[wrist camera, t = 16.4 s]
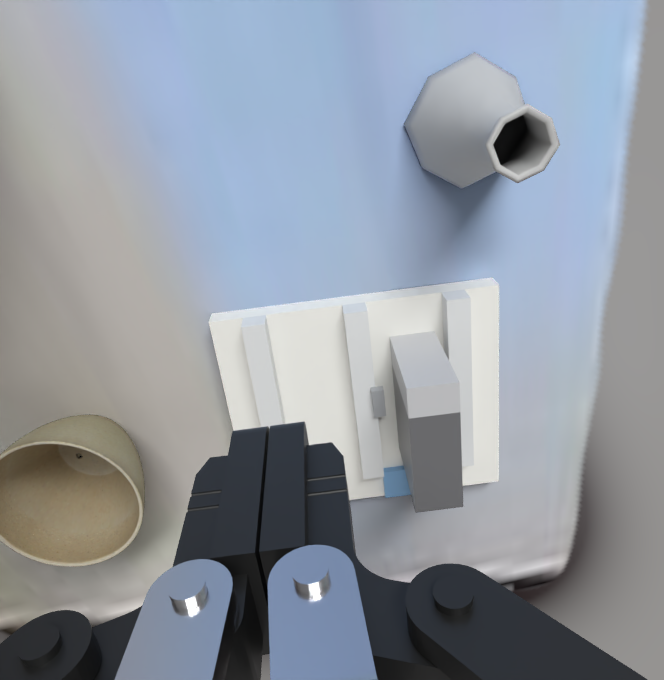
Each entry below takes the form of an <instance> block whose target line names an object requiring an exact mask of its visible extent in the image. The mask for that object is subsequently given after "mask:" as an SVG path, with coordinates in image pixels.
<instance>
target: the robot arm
mask: <svg viewBox="0 0 664 680" xmlns="http://www.w3.org/2000/svg"><path fill="white" fill-rule="evenodd" d="M191 494H192V497H190V501H189V505H188V512H187V513H186V517H185V521H184V525H183V529H182V532H181V536H180V540H179V544H178V548H177V552H176V556H175V560H174V564H173V567H172V568H170V569H169V570H168V571H166V572H165V573H163V574H162V575H161V576H160V577H159V578H158V579H157V580H156V581H155V582H154V583H153V585H152V586H151V587H150V589H149V591H148V593H147V595H146V597H145V600H144V603H143V605H142V606H141V607H139V608H138V609H136V610H134V611H132V612H130V613H128V614H125V615H123V616H120V617H118V618H115V619H113V620H110V621H108V622H105V623H103V624H100V625H98V626H95V627H93V628H92V627H91V625H90V623H89V621H88V619H87V618H86V617H85V616H84V615H82V614H81V613H79V612H76V611H70V610H61V611H55V612H50V613H47V614H45V615H42V616H40V617H37V618H35V619H33V620H32V621H30V622H28V623H27V624H25V625H24V626H22V627H21V628H20V629H18V630H17V631H16V632H14V633H13V634H12V635H11V636H9V637H8V638H7V639H6V640H4V641H3V642H2V643H1V644H0V680H260V678H261V662H262V655H265V654H270V677H271V678H270V679H271V680H647V679H646V678H644V677H643V676H641V675H640V674H638V673H636V672H635V671H633V670H632V669H630V668H629V667H627V666H625V665H624V664H623V663H621V662H619V661H618V660H616V659H615V658H613V657H612V656H610V655H609V654H607V653H605V652H604V651H602V650H601V649H599V648H598V647H596V646H595V645H593V644H592V643H590V642H588V641H587V640H585V639H584V638H582V637H581V636H579V635H578V634H576V633H574V632H573V631H571V630H570V629H568V628H567V627H565V626H564V625H562V624H561V623H559V622H558V621H556V620H554V619H553V618H551V617H550V616H548V615H547V614H545V613H544V612H542V611H540V610H539V609H537V608H536V607H534V606H533V605H531V604H530V603H528V602H527V601H525V600H524V599H522V598H520V597H519V596H517V595H516V594H514V593H513V592H511V591H510V590H508V589H506V588H505V587H503V586H502V585H500V584H499V583H497V582H496V581H494V580H493V579H491V578H489V577H488V576H486V575H485V574H483V573H482V572H480V571H478V570H476V569H474V568H471V567H469V566H465V565H460V564H441V565H436V566H433V567H430V568H428V569H426V570H424V571H422V572H421V573H419V574H418V575H417V576H416V577H415V578H414V579H413V580H412V582H411V583H406V582H400V581H394V580H389V579H385V578H382V577H379V576H377V575H375V574H373V573H371V572H370V571H369V570H367V569H366V568H365V567H364V566H363V565H362V564H361V563H360V562H359V560H358V559H357V557H356V552H355V543H354V534H353V525H352V516H351V508H350V501H349V494H348V486H347V479H346V471H345V464H344V457H343V455H342V454H341V453H340V451H339V450H338V449H337V448H336V447H335V445H334V444H333V443H332V442H329V443H321V444H313V445H309V442H308V435H307V429H306V425H305V422H296V423H288V424H281V425H273V426H270V429H269V427H268V426H266V427H258V428H250V429H242V430H235V431H233V433H232V437H231V442H230V448H229V453H228V456H220V457H212V458H210V459H209V460H208V461H207V462H206V463H205V465H204V466H203V467H202V468H201V470H200V471H199V472H198V473H197V474H196V477H195V481H194V485H193V489H192V493H191Z"/></svg>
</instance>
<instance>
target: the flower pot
mask: <svg viewBox="0 0 664 680" xmlns="http://www.w3.org/2000/svg"><path fill="white" fill-rule="evenodd" d="M79 456H82V457H81V458H79ZM144 501H145V486H144V475H143V470H142V465H141V462H140V458H139V455H138V453H137V450H136V448H135V446H134V444H133V442H132V440H131V439H130V437H129V436H128V434H127V433H126V432H125V431H124V430H123V429H122V427H120V426H119V425H118V424H117V423H115V422H114V421H112V420H110V419H108V418H105V417H102V416H98V415H78V416H72V417H67V418H63V419H60V420H56V421H53V422H51V423H48V424H46V425H43V426H41V427H39V428H37V429H35V430H33V431H32V432H30V433H28V434H27V435H25V436H24V437H22V438H20V439H19V440H18V441H16V442H15V443H13V444H12V445H11V446H10V447H8V448H7V449H6V450H5V451H3V452H2V453H1V454H0V541H1V542H2V543H4V544H5V545H6V546H8V547H9V548H10V549H12V550H13V551H15V552H17V553H19V554H21V555H23V556H25V557H27V558H29V559H32V560H35V561H38V562H41V563H45V564H49V565H55V566H64V567H65V566H66V567H77V566H86V565H92V564H96V563H100V562H103V561H105V560H108V559H110V558H112V557H114V556H116V555H117V554H119V553H120V552H122V551H123V550H124V549H125V548H127V547H128V546H129V544H130V543H131V542H132V541H133V540H134V538H135V537H136V535H137V534H138V531H139V529H140V526H141V523H142V518H143V512H144Z"/></svg>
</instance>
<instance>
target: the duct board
mask: <svg viewBox="0 0 664 680" xmlns="http://www.w3.org/2000/svg"><path fill="white" fill-rule="evenodd" d="M209 325H210V330H211V334H212V339H213V343H214V347H215V352H216V356H217V361H218V365H219V369H220V374H221V378H222V383H223V387H224V391H225V396H226V400H227V405H228V409H229V413H230V418H231V422H232V427H233V431H235V430H242V429H250V428H258V427H266V426H268V427H269V429H270V426H273V425H281V424H288V423H296V422H305V425H306V429H307V435H308V442H309V445H313V444H321V443H329V442H332V443H333V444H334V445H335V447H336V448H337V449H338V450H339V451H340V453H341V454H342V455H343V457H344V464H345V471H346V479H347V486H348V494H349V500H354V499H362V498H370V497H378V496H385V498H389V497H397V496H405V495H411V493H410V489H409V485H408V481H407V477H406V473H405V469H404V465H403V461H402V457H401V453H400V449H399V442H398V430H397V419H396V407H395V395H394V383H393V371H392V359H391V347H390V336H398V335H406V334H414V333H422V332H430V331H434V332H435V334H436V336H437V338H438V340H439V342H440V344H441V346H442V348H443V350H444V352H445V354H446V356H447V358H448V360H449V362H450V364H451V366H452V368H453V370H454V372H455V374H456V376H457V378H458V380H459V382H460V416H461V450H462V483H463V486H465V485H473V484H481V483H489V482H497V481H499V284H498V283H497V282H496V281H495V280H494V279H493V278H492V277H491V278H484V279H476V280H468V281H460V282H453V283H445V284H437V285H429V286H421V287H414V288H406V289H398V290H390V291H383V292H375V293H367V294H359V295H352V296H344V297H336V298H328V299H321V300H313V301H305V302H297V303H290V304H282V305H274V306H266V307H258V308H251V309H243V310H235V311H227V312H220V313H212V315H211V317H210V320H209Z"/></svg>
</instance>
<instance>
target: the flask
mask: <svg viewBox="0 0 664 680" xmlns="http://www.w3.org/2000/svg"><path fill="white" fill-rule="evenodd" d="M404 125H405V128H406V130H407V133H408V135H409V137H410V140H411V142H412V145H413V147H414V149H415V152H416V154H417V157H418V159H419V161H420V164H421V166H422V168H423V169H425V170H427V171H429V172H431V173H432V174H434V175H436V176H438V177H440V178H442V179H444V180H446V181H447V182H449V183H451V184H453V185H455V186H457V187H459V188H461V189H463V188H465V187H467V186H469V185H471V184H473V183H475V182H477V181H479V180H481V179H483V178H485V177H487V176H489V175H491V174H493V173H495V172H498V173H500V174H502V175H503V176H505V177H507V178H509V179H511V180H512V181H514V182H516V183H519V182H521V181H523V180H525V179H527V178H530V177H532V176H534V175H536V174H538V173H540V172H542V171H544V169H545V168H546V166H547V165H548V163H549V161H550V160H551V158H552V157H553V155H554V154H555V152H556V150H557V149H558V147H559V146H560V143H559V140H558V137H557V133H556V130H555V127H554V124H553V120H552V118H551V117H549V116H547V115H546V114H544V113H542V112H541V111H539V110H537V109H535V108H534V107H532V106H530V105H529V104H525V103H524V100H523V97H522V94H521V91H520V88H519V85H518V82H517V79H516V77H515V76H513V75H512V74H510V73H508V72H507V71H505V70H503V69H502V68H500V67H498V66H497V65H495V64H493V63H492V62H490V61H488V60H487V59H485V58H483V57H482V56H480V55H478V54H477V53H475V52H474V53H472V54H470V55H469V56H467V57H465V58H463V59H461V60H459V61H457V62H455V63H453V64H452V65H450V66H448V67H446V68H444V69H442V70H440V71H438V72H436V73H435V74H433V75H431V76H429V77H428V78H427V80H426V82H425V84H424V86H423V88H422V90H421V92H420V94H419V96H418V98H417V100H416V102H415V103H414V105H413V107H412V109H411V111H410V113H409V115H408V117H407V119H406V121H405V123H404Z"/></svg>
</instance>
